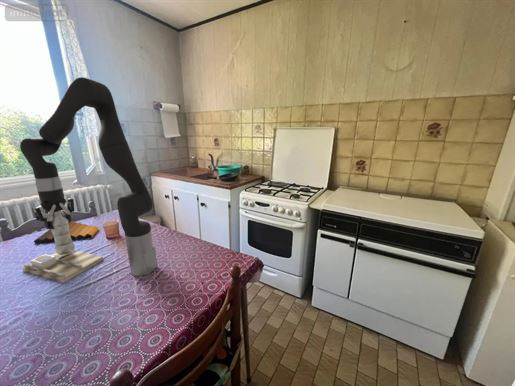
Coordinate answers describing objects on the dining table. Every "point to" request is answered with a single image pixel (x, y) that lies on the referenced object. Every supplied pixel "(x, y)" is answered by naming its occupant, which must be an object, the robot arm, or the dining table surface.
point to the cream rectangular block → (43, 261)
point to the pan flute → (71, 233)
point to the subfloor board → (65, 266)
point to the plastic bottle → (61, 234)
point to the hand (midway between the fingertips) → (59, 225)
